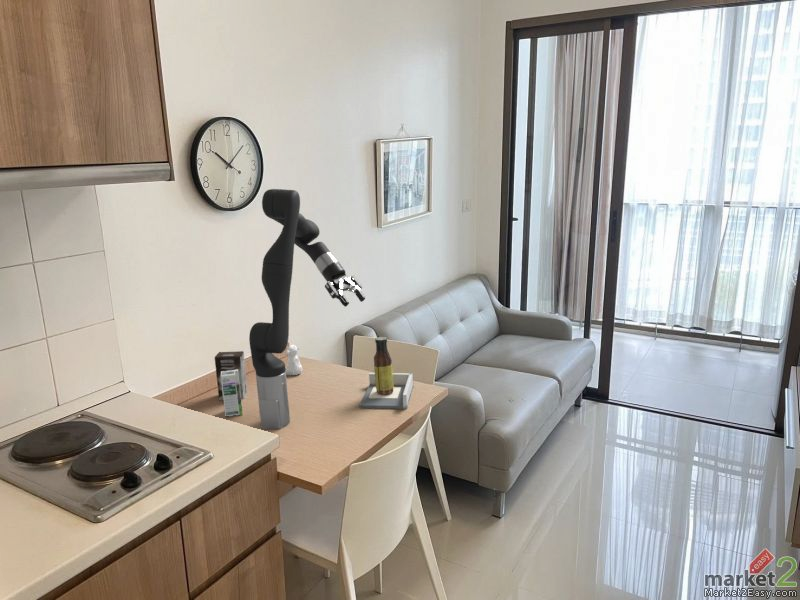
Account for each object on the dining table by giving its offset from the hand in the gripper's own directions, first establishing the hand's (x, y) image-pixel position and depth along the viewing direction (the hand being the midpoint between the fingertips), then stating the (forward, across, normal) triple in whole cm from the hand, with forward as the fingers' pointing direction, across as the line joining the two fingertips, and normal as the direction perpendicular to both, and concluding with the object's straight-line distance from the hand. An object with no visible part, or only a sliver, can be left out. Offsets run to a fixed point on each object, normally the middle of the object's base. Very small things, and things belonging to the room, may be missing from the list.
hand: (355, 302), depth 209 cm
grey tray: (+32, 0, +14) cm, 35 cm away
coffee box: (-1, -30, +48) cm, 56 cm away
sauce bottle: (+30, 0, +14) cm, 33 cm away
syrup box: (+8, -39, +39) cm, 56 cm away
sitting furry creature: (0, -2, +47) cm, 47 cm away
